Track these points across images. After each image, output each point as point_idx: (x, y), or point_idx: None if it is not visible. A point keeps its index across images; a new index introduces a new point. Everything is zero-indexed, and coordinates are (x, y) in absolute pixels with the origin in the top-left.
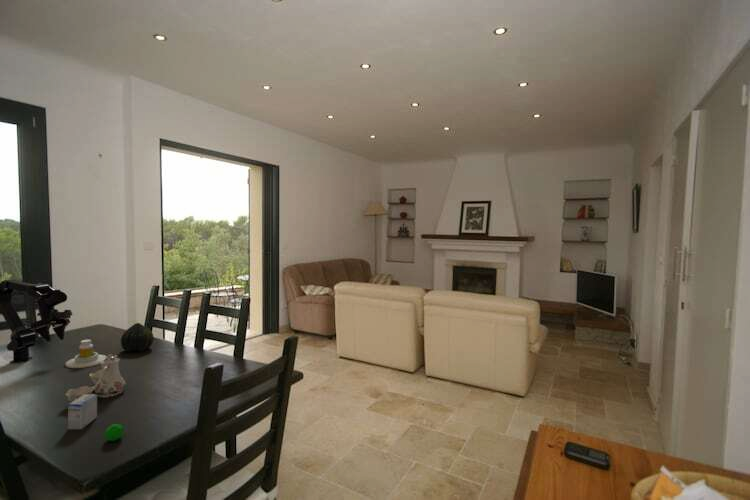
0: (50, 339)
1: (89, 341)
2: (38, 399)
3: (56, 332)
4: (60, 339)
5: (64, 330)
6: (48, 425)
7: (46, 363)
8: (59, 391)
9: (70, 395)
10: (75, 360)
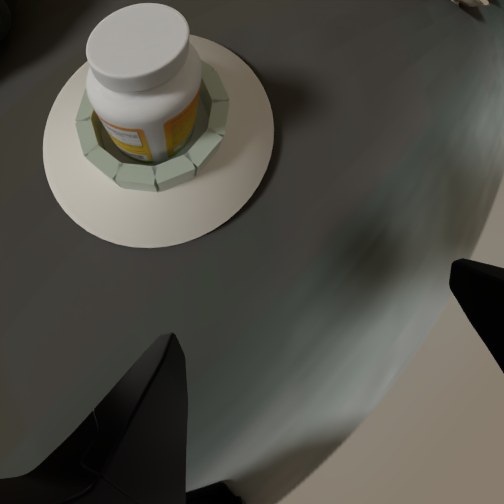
0: (466, 265)
1: (149, 5)
2: (483, 82)
3: (178, 500)
4: (185, 365)
5: (73, 436)
6: (497, 26)
7: (216, 375)
8: (447, 53)
9: (473, 3)
10: (217, 148)
